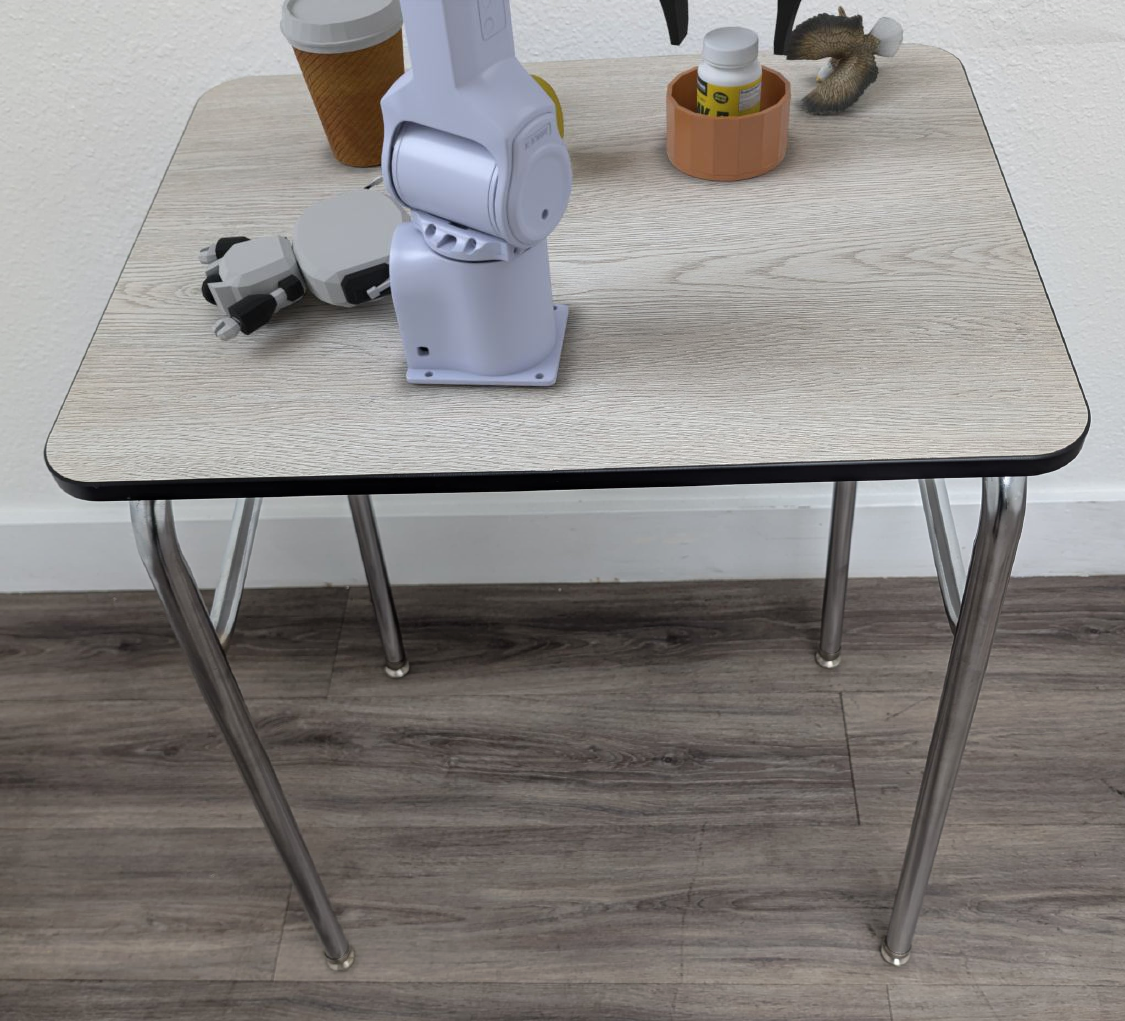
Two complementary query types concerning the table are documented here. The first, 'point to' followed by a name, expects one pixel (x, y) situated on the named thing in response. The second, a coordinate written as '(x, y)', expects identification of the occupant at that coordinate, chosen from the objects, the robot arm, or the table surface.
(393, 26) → the disposable coffee cup
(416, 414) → the table surface
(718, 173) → the copper cup
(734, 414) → the table surface
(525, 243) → the robot arm
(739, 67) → the supplement bottle
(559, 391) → the table surface
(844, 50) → the eagle figurine
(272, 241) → the robot toy
